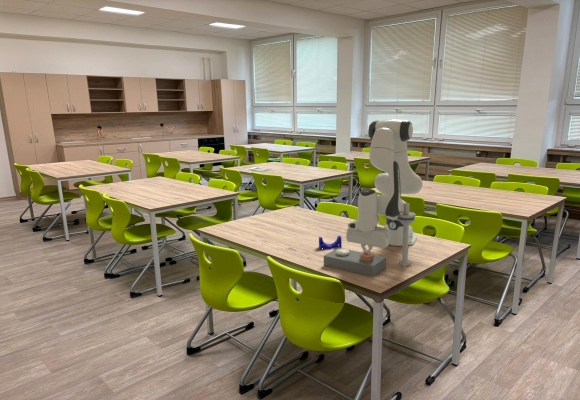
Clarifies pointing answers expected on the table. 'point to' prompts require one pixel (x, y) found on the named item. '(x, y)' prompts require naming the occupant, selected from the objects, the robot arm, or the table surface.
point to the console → (355, 263)
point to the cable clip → (328, 246)
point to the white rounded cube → (342, 252)
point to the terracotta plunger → (367, 256)
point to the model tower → (405, 232)
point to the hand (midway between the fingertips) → (366, 253)
